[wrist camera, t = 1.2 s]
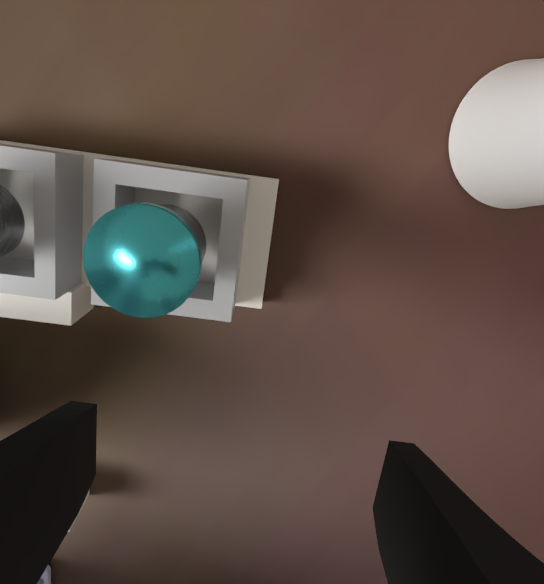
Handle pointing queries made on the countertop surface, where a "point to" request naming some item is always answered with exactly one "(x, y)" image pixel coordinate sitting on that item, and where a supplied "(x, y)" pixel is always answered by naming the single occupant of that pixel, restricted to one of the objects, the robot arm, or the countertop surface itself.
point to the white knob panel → (114, 193)
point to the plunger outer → (144, 258)
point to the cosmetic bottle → (502, 137)
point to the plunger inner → (10, 222)
